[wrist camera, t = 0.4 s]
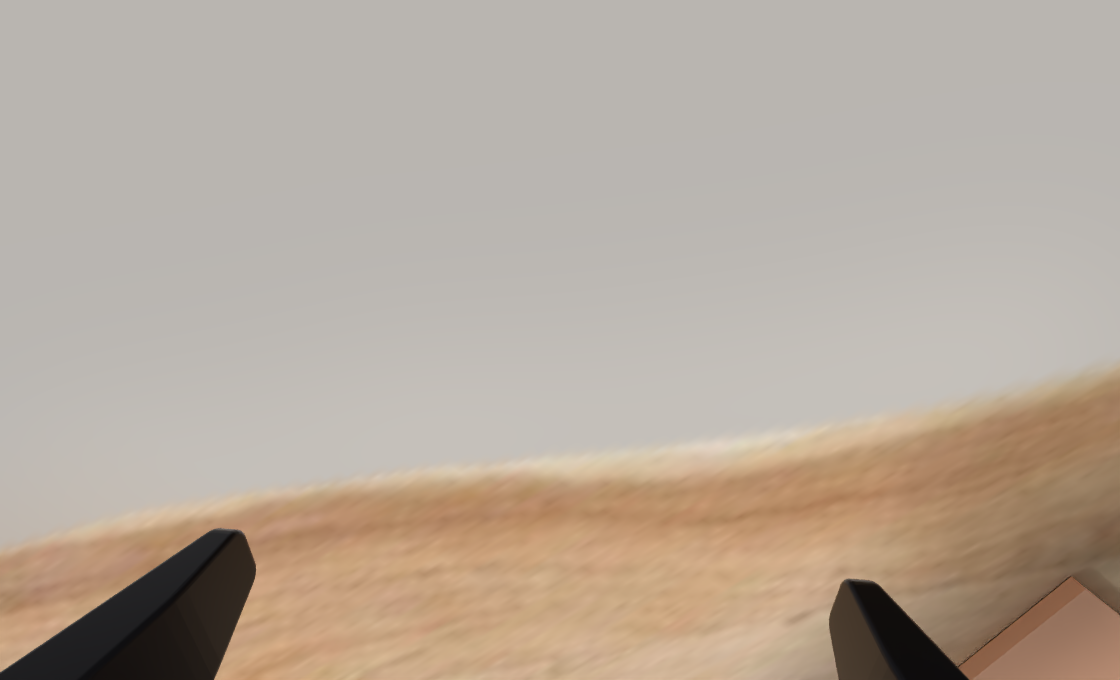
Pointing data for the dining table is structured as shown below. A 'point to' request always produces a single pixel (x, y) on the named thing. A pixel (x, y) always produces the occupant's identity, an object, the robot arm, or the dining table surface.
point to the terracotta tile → (1054, 641)
